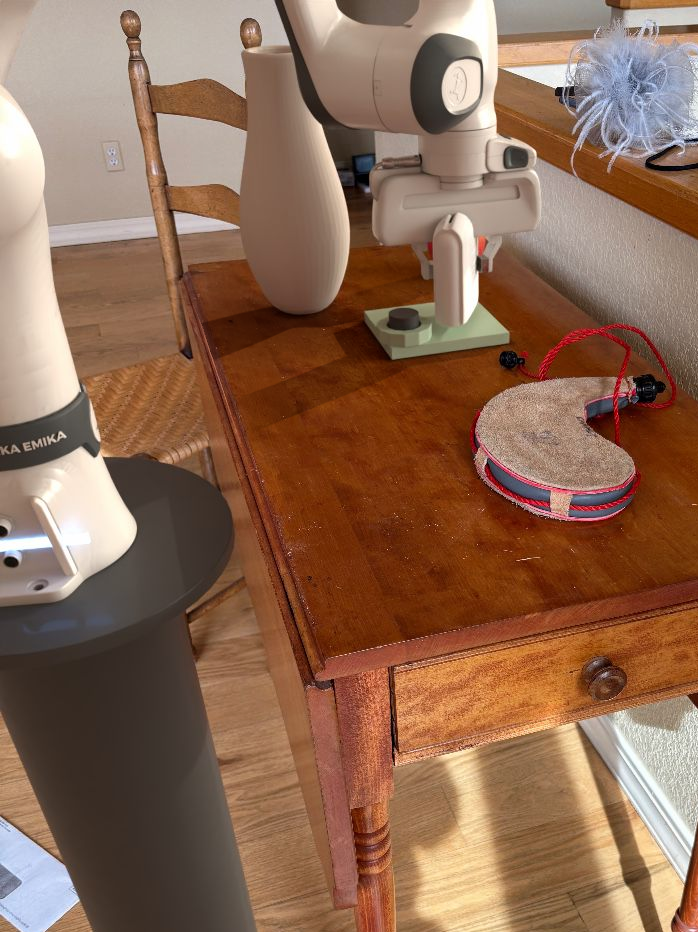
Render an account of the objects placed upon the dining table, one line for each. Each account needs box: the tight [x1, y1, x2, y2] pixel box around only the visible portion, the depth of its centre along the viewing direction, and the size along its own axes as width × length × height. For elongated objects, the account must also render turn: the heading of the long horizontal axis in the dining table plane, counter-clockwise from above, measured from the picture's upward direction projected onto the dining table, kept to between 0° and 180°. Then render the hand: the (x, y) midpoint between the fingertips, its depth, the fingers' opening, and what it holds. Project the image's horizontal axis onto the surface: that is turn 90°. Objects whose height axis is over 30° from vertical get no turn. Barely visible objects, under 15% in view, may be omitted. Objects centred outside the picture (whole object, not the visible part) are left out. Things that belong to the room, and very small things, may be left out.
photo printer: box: [433, 213, 479, 327], centre depth 112 cm, size 10×4×12 cm, turn 168°
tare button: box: [389, 308, 419, 331], centre depth 111 cm, size 4×4×2 cm
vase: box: [238, 44, 351, 316], centre depth 115 cm, size 14×14×30 cm
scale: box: [363, 301, 510, 361], centre depth 116 cm, size 16×13×3 cm
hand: (457, 274), depth 114 cm, fingers closed on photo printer, 6 cm apart
